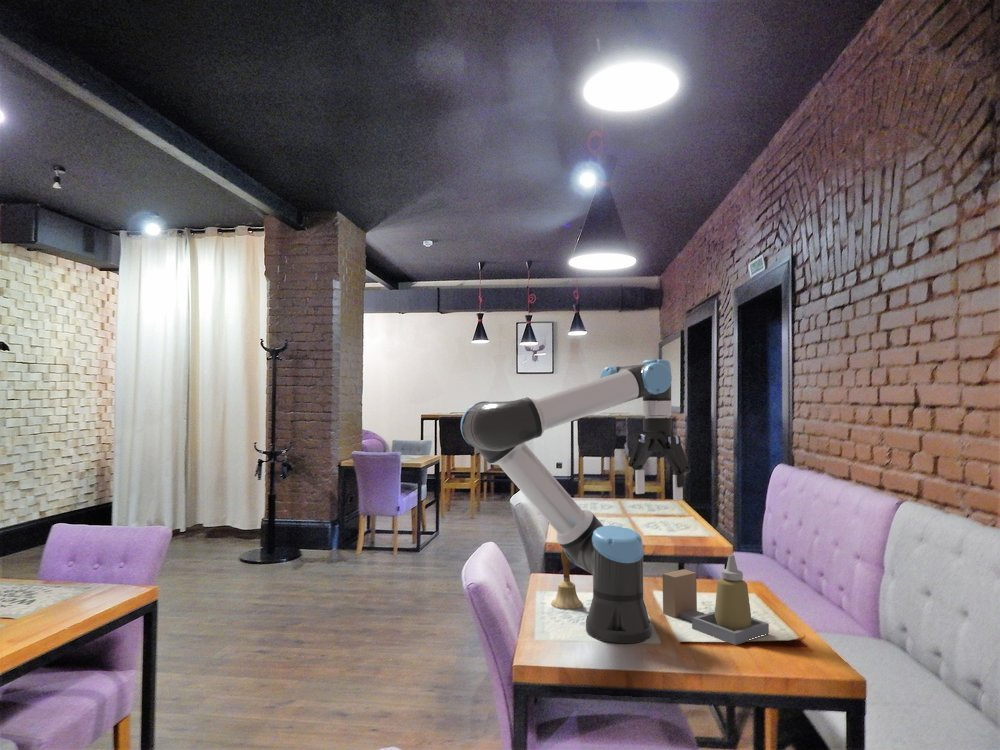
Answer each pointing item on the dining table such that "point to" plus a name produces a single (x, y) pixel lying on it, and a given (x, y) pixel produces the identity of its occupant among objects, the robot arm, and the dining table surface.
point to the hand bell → (566, 589)
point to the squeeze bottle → (732, 599)
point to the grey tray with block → (684, 604)
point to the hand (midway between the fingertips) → (658, 496)
